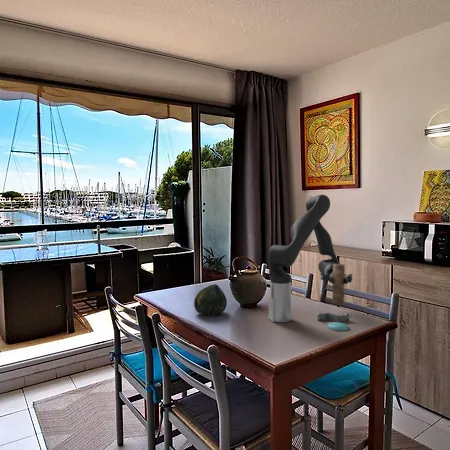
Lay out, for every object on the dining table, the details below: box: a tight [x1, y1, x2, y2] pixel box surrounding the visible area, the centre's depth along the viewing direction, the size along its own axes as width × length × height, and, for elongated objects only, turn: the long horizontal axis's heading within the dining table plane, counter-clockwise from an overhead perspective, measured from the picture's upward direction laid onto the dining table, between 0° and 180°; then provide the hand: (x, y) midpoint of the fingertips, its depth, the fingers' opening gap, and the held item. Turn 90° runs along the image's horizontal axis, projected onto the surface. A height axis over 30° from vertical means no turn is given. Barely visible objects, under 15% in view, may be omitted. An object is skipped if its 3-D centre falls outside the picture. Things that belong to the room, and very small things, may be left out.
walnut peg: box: [332, 263, 346, 305], centre depth 161 cm, size 5×5×16 cm
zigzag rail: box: [317, 312, 350, 323], centre depth 170 cm, size 14×5×3 cm, turn 86°
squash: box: [193, 283, 228, 316], centre depth 180 cm, size 14×15×15 cm
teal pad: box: [327, 321, 349, 332], centre depth 161 cm, size 8×8×1 cm
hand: (339, 281), depth 158 cm, fingers closed on walnut peg, 4 cm apart
